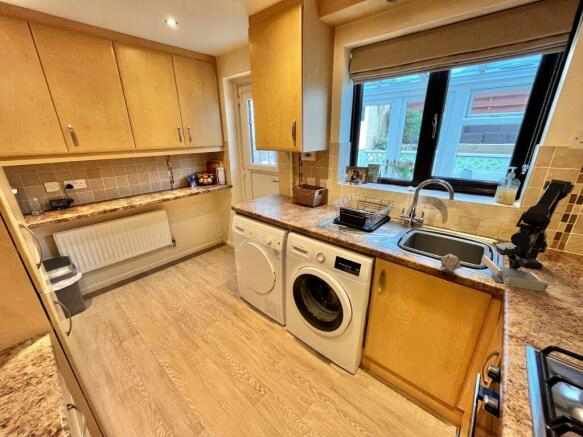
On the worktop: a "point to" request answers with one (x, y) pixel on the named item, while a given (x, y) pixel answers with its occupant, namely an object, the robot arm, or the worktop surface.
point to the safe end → (527, 283)
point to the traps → (501, 280)
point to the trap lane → (498, 271)
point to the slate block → (511, 273)
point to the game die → (450, 262)
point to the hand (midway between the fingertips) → (511, 271)
